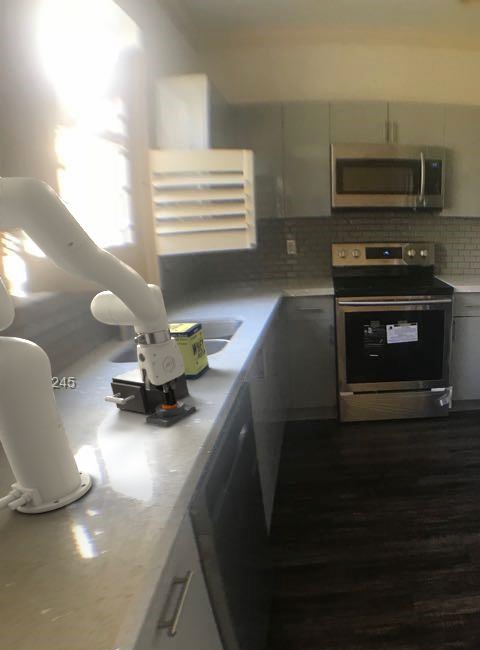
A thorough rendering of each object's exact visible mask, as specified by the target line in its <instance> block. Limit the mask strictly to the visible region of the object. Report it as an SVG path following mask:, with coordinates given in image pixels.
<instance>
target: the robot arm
mask: <svg viewBox="0 0 480 650" xmlns="http://www.w3.org/2000/svg"><path fill="white" fill-rule="evenodd" d="M0 229H21V230H22V231H23V232H24V234H26V235H27V236H28V237H29V239H30V240H31V241H32V242H33V243H34V244H35V245H36V246H37V247H38V249H39V250H40V251H41V252H42V253H43V254H44V255H45V256H46V258H48V259H49V261H50V262H51V263H53V265H54V266H55V267H56V268H57V269H58V270H60V271H61V272H64V273H66V274H68V275H70V276H72V277H75V278H76V279H77V278H78V279H80V280H83V281H86V282H89V283H92V284H94V285H97V286H99V287H101V288H103V289H105V291H102V292H100V293H98V294H96V296H94V298H93V299H92V301H91V303H90V311H91V314H92V316H93V318H95V319H96V320H97V321H98V322H100V323H102V324H106V325H109V326H130V327H132V326H133V328H134V332H135V336H136V337H134V338H133V341H134V343H135V344H137V345H136V356H137V364H138V365H137V366H138V367H139V370H140V375H141V378H142V381H143V383H146V390H150V391H151V390H157V391H158V392H160V395H161V400H162V403H163V405H168V406H173V404H176V403H177V402H176V398H175V393H174V389H175V383H176V381H177V379H178V378H180V377H181V376H182V374H183V373H184V371H185V368H184V364H183V360H182V356H181V353H180V350H179V347H178V345H177V343H176V341H175V339H174V338H173V337H171V333H170V328H169V324H170V323H169V320H168V315H167V310H166V306H165V301H164V297H163V292H162V289H161V287H160V286H159V285H157V284H151V283H147V282H146V280H145V279H144V278H143V277H142V275H140V274H139V272H138V271H136V270H135V269H134V268H133V267H131V266H130V265H129V264H127V263H125V262H124V261H122V260H121V259H120V258H118V257H117V256H115V255H114V254H113V253H111V252H109V251H107V250H106V249H104V248H102V247H101V246H99V245H98V244H97V242H96V241H94V239H93V238H92V237H91V235H90V234H89V233H88V232H87V230H86V229H85V228H84V227H83V225H82V224H81V223H80V221H79V220H78V218H76V216H75V215H74V214H73V213H72V211H71V210H70V208H69V207H68V206H67V205H66V203H65V202H64V201H63V200H62V198H61V197H60V196H59V195H58V194H57V192H56V191H55V190H54V189H53V188H52V186H51V185H49V184H48V183H47V182H45V181H43V180H41V179H39V178H35V177H29V176H11V177H10V176H8V177H7V176H5V177H2V176H1V175H0ZM15 314H16V313H15V307H14V303H13V301H12V299H11V296H10V294H9V292H8V290H7V288H6V285H5V284H4V281H3V279H2V277H1V276H0V332H2V331H4V330H6V329H7V328H9V327H10V326H11V325H12V324H13V322H14V321H15V316H16V315H15ZM0 443H1V445H2V448H3V450H4V453H5V457H7V461H8V463H9V466H10V468H11V471H12V473H13V475H14V479H15V481H16V482H14V483H12V484H11V489H12V490H11V491H10V492H8V495H6V496H4V497H1V498H0V512H2V511H4V510H6V509H7V508H8V509H9V510H11V511H15V510H16V511H18V512H20V513H25V514H39V513H45V512H51V511H54V510H56V509H61V508H62V507H65V506H67V505H69V504H71V503H74V502H75V501H77V500H78V499H80V498H81V497H82V496H84V495H86V493H87V492H88V491H89V490H90V489H91V487H92V484H93V480H92V477H91V475H90V474H89V473H87V472H85V471H81V470H79V467H78V464H77V462H76V461H77V460H76V459H75V455H74V452H73V449H72V446H71V443H70V440H69V437H68V433H67V431H66V427H65V425H64V421H63V419H62V415H61V413H60V409H59V407H58V403H57V401H56V397H55V393H54V387H53V379H52V366H51V362H50V358H49V356H48V355H47V353H46V351H45V350H44V349H43V348H42V347H40V346H39V345H38V344H37V343H35V342H33V341H30V340H28V339H24V338H20V337H13V336H1V335H0Z"/></svg>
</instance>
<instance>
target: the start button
mask: <svg viewBox="0 0 480 650" xmlns="http://www.w3.org/2000/svg"><path fill="white" fill-rule="evenodd" d="M175 407H177V403H176V404H173V406H168V405H162V409H172V408H175Z"/></svg>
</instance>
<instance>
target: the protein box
mask: <svg viewBox="0 0 480 650" xmlns="http://www.w3.org/2000/svg"><path fill="white" fill-rule="evenodd" d="M168 324H169V328H170V333H171V337H173V338H174V339H175V341H176V343H177V345H178V347H179V350H180V353H181V356H182V360H183V364H184V368H185V371H184V373H185V378H186V380H198V378H200V376H202V375H203V374H204V373H205V372H206V371H207V370H208V369H209V368H210V365H209V359H208V353H207V349H206V342H205V338H204V332H203V327H202V323H201V322H195V323H194V322H190V323H189V322H188V323H168Z"/></svg>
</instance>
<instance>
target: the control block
mask: <svg viewBox="0 0 480 650" xmlns="http://www.w3.org/2000/svg"><path fill="white" fill-rule="evenodd" d="M176 402H177V407H175V408H172V409H162V405H163V403H162V404H160V405H158V406H157V407H156V408H155V409H156V412H155V413H153V414H149V415H148V416H146V417H145V422H146V424H150V425H155V426H160V427H166V428H168V427H170V426H172V425H174V424H175V423H177V422H179V421H180V420H182V419H184V418H186V417H187V416H189V415H191V414H193V413H194V412H196V411H197V409H196V406H195V405H193V404H188V403H184V402H183V401H181V400H178V401H176Z"/></svg>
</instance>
